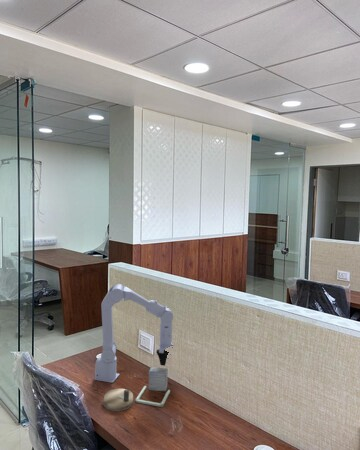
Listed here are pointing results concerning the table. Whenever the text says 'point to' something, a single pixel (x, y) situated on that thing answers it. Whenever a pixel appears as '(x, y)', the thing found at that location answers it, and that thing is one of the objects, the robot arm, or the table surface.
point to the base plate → (119, 409)
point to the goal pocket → (149, 401)
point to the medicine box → (158, 379)
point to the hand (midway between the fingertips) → (165, 361)
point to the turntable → (118, 399)
